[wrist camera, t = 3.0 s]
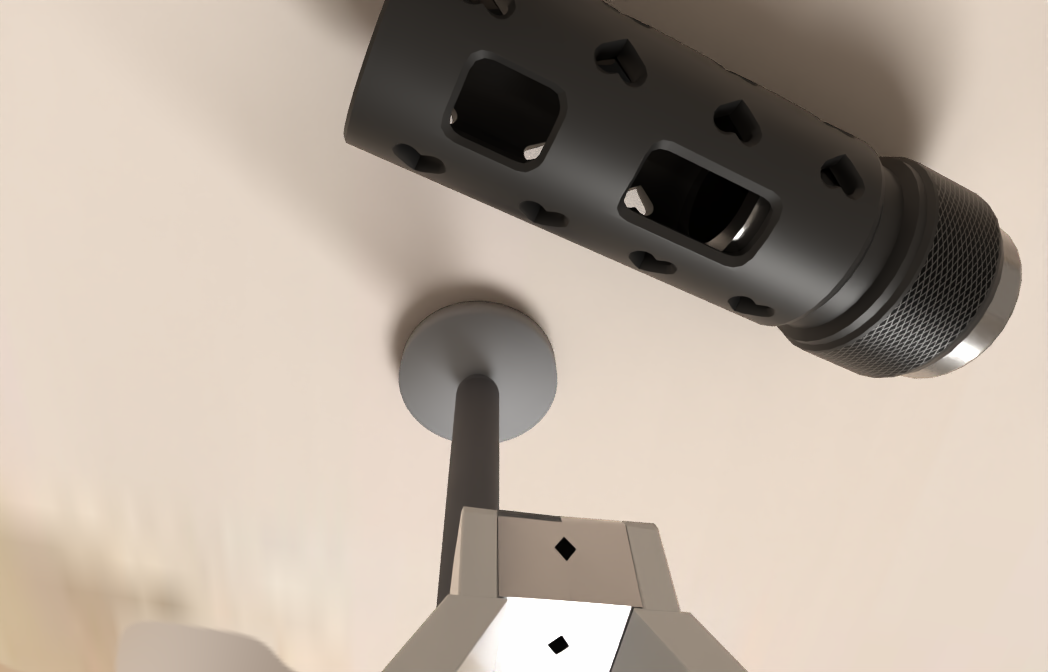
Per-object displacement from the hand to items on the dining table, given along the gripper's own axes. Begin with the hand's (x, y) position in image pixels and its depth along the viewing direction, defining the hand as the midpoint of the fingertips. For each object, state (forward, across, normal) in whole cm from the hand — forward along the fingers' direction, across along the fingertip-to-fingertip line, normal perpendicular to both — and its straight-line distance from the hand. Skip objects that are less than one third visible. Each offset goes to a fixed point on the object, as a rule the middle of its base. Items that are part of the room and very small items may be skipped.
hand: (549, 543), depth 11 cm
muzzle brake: (+27, -8, 0) cm, 29 cm away
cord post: (+27, 0, +15) cm, 31 cm away
